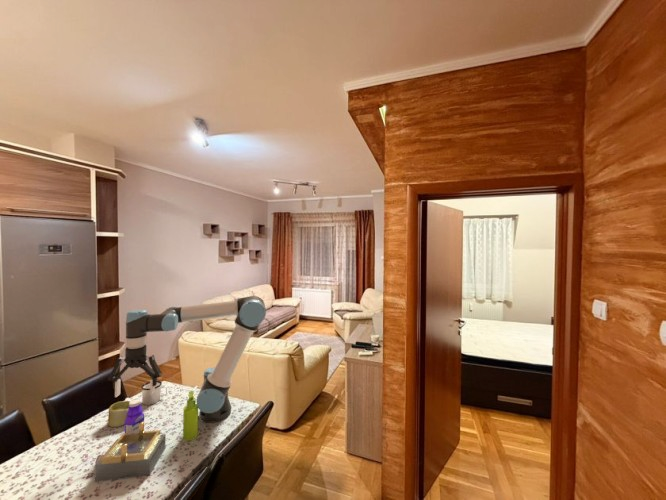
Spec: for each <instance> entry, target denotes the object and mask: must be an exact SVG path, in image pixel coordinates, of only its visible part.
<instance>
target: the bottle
mask: <svg viewBox="0 0 666 500" xmlns="http://www.w3.org/2000/svg"><path fill="white" fill-rule="evenodd" d="M141 403H142V401H141V399H133V400H130V403H129V410H128V412H127V417H126V420H125V425H124V433H135V432H139V423H140V422H144V423H145V413H144V412H143V407H142V404H141Z"/></svg>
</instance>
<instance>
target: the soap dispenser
mask: <svg viewBox="0 0 666 500" xmlns="http://www.w3.org/2000/svg"><path fill="white" fill-rule="evenodd" d="M182 416H183V418H182V419H183V420H182V421H183V422H182V423H183V424H182V440H183V441H187V442H188V441H192V440H195V439H196V438H197V437H198V432H199V408H198V406H197V403H196V397H195V392H194V390H190V391H188V399H187V400H186V406H184V407H183V415H182Z"/></svg>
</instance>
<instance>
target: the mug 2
mask: <svg viewBox="0 0 666 500" xmlns="http://www.w3.org/2000/svg"><path fill="white" fill-rule="evenodd" d="M162 383H163V382H162V381H160V380H157V384H156V386H155V392H154V393H153V394H152V395H150V381H148V382H146V383H144V384H143V385H141V388H140V389H141V390H142V396H141V397H142V399H141V400H142V401H141V403H142V404H143V405H144V406H149V405H154V404H156V403H158V402H159V401H160V400H161V397H163V396H166V395H167V394H168V393H167V392H168V387H167V386H162ZM164 388H165V393H164V394H163V393H162V394H161V389H164ZM142 404H141V405H142Z"/></svg>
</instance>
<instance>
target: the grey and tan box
mask: <svg viewBox="0 0 666 500" xmlns="http://www.w3.org/2000/svg"><path fill="white" fill-rule="evenodd" d="M166 435H167V434H161V430H160V429H158V430H148V431H147V430H146V431H145V421H144V422H140V423H139V432H135V433H125V432H124V433H122V434H121V435H120V437H118V438H117V439H116V440H115V441H114V442H113V444H112V445H111V446H110V447H109V448H108V450H106V452H105V453H104V454H99V455H97V457H96V459H95V461H94V463H95V465H94V482H95V483H96V482H102V481H112V480H120V479H128V478H129V479H130V478H137V477H138V478H139V477H145V476H151V474H152V473H153V470H154V469H155V467H156V465H157V464H158V462H159V460H160V459H161V457H162V455H163V453H164V451H165V450H166V439H167V438H166V437H167V436H166Z"/></svg>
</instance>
